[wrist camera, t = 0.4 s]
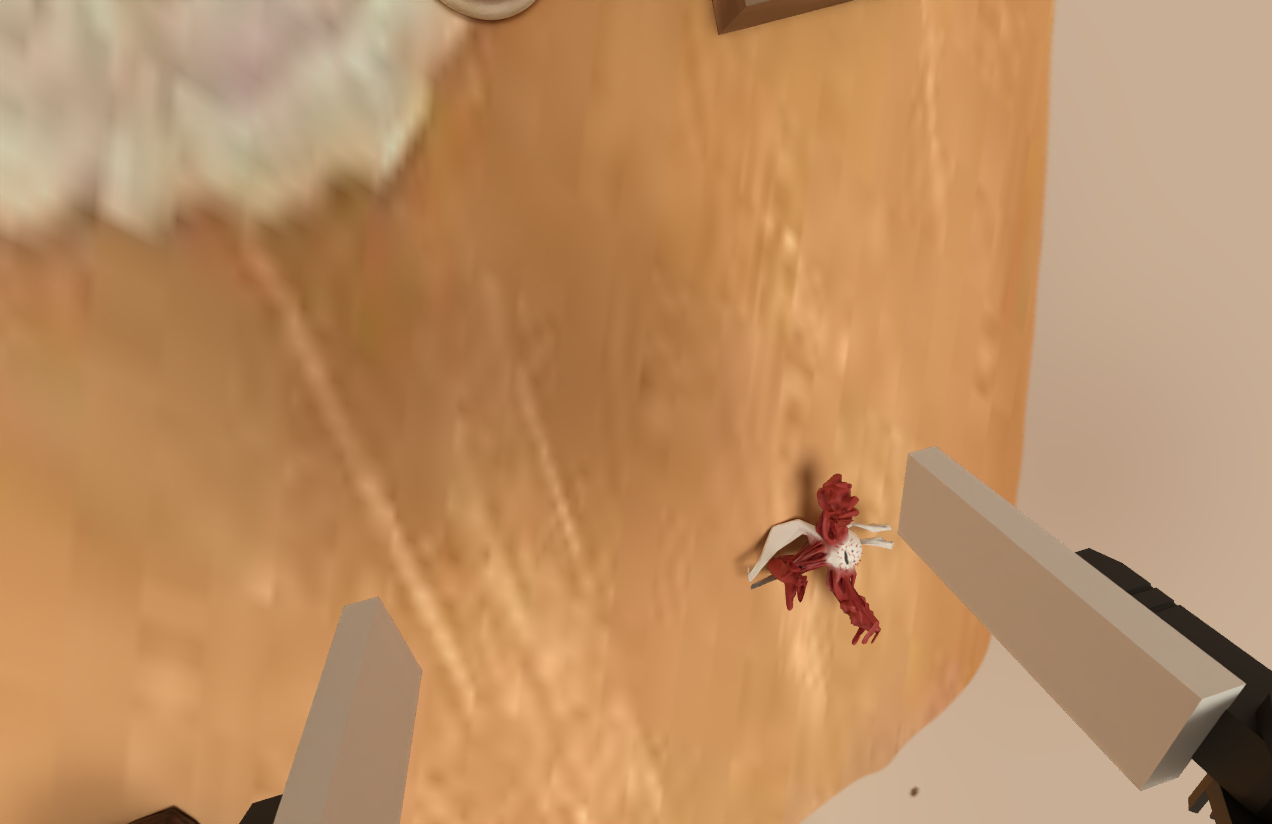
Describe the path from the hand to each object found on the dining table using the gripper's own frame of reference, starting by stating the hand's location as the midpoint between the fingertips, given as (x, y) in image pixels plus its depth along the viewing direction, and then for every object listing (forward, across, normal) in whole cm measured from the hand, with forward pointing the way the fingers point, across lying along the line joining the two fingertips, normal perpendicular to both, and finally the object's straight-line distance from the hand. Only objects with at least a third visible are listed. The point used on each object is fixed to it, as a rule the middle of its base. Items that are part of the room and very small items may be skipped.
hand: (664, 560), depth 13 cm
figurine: (+21, +14, -23) cm, 34 cm away
